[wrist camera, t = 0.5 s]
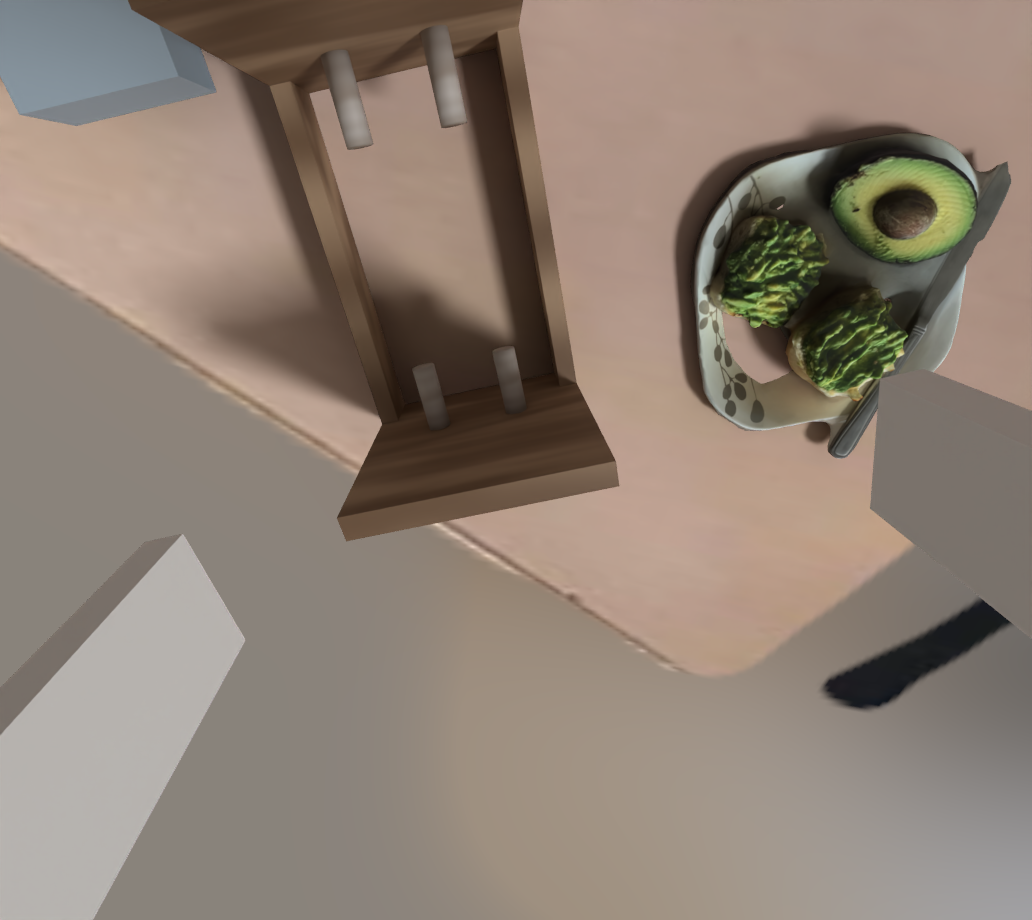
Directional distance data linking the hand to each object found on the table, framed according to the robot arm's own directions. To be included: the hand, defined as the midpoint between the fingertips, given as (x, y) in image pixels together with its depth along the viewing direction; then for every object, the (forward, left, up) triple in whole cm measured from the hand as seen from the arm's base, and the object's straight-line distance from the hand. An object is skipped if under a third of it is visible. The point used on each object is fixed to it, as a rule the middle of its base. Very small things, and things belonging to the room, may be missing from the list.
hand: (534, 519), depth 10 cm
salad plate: (+3, +20, -26) cm, 33 cm away
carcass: (-4, -3, -25) cm, 26 cm away
